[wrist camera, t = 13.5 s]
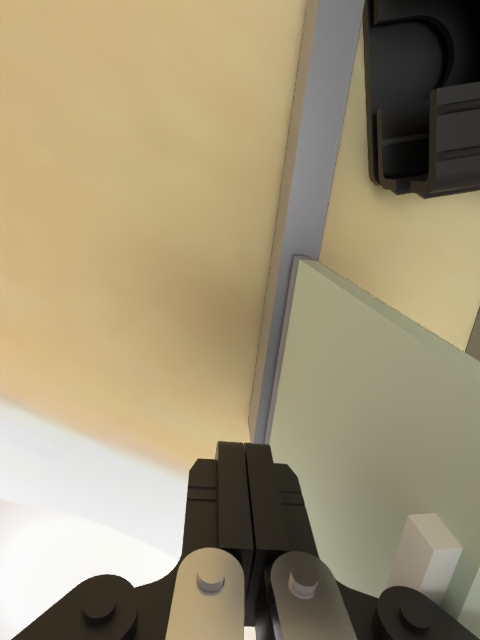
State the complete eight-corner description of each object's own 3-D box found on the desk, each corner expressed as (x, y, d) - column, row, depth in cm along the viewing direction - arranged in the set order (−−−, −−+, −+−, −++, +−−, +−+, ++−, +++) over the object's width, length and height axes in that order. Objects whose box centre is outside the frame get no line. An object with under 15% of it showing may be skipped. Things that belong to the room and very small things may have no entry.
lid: (274, 451, 21) (249, 452, 20) (307, 255, 17) (278, 253, 17) (413, 785, 10) (361, 797, 9) (577, 422, 6) (505, 423, 6)
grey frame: (247, 421, 23) (252, 450, 21) (337, -215, 14) (361, -289, 12) (474, 436, 24) (502, 464, 22) (682, -141, 16) (765, -195, 13)
